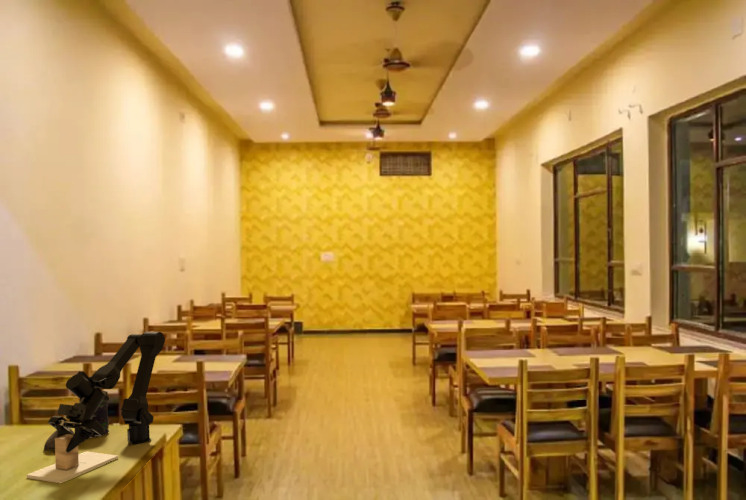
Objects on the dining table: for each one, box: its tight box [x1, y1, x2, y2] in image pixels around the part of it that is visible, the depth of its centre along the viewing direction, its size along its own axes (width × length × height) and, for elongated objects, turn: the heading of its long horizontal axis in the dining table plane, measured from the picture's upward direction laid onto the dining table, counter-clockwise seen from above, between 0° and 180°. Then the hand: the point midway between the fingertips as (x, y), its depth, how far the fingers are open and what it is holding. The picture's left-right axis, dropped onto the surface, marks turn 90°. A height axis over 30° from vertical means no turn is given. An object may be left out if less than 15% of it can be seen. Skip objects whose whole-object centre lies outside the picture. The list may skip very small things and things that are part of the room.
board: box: [26, 451, 119, 484], centre depth 193 cm, size 22×14×1 cm, turn 157°
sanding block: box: [54, 434, 79, 471], centre depth 191 cm, size 4×4×10 cm
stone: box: [43, 428, 74, 451], centre depth 214 cm, size 10×8×10 cm
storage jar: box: [78, 390, 110, 438], centre depth 230 cm, size 10×10×15 cm
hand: (61, 451), depth 189 cm, fingers closed on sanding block, 4 cm apart
